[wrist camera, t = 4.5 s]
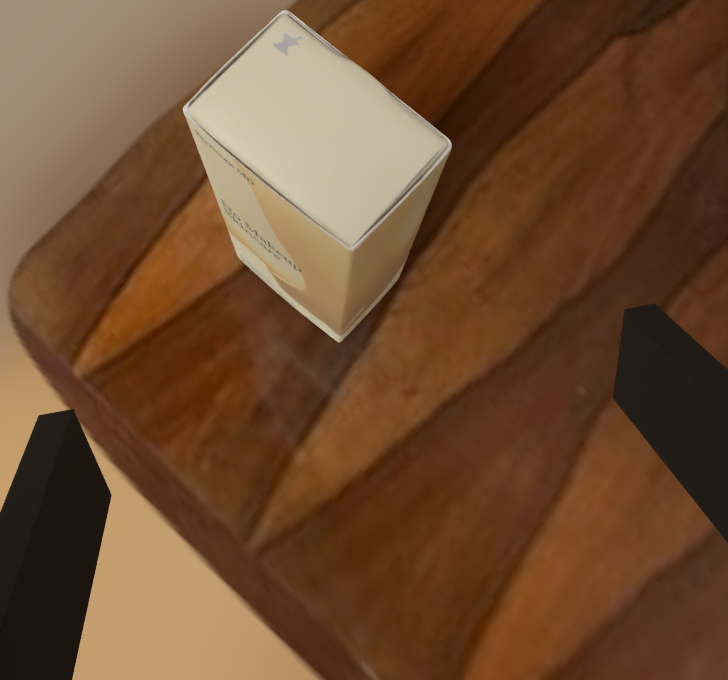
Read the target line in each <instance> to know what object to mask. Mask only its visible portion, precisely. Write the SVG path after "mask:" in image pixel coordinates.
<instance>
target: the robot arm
mask: <svg viewBox="0 0 728 680" xmlns="http://www.w3.org/2000/svg"><path fill="white" fill-rule="evenodd" d="M613 399H614V400H615V401H616V402H617V404H618V405H619V406H620V407H621V409H622V410H623V411H624V413H625V414H626V415H627V416H628V418H629V419H630V420H631V421H632V423H633V424H634V425H635V426H636V428H637V429H638V430H639V431H640V433H641V434H642V435H643V436H644V438H645V439H646V440H647V442H648V443H649V444H650V445H651V447H652V448H653V449H654V450H655V452H656V453H657V454H658V455H659V457H660V458H661V459H662V460H663V462H664V463H665V464H666V465H667V467H668V468H669V469H670V470H671V472H672V473H673V474H674V476H675V477H676V478H677V479H678V481H679V482H680V483H681V484H682V486H683V487H684V488H685V489H686V491H687V492H688V493H689V494H690V496H691V497H692V498H693V499H694V501H695V502H696V503H697V504H698V506H699V507H700V508H701V510H702V511H703V512H704V513H705V515H706V516H707V517H708V518H709V520H710V521H711V522H712V523H713V525H714V526H715V527H716V528H717V530H718V531H719V532H720V533H721V535H722V536H723V537H724V538H725V540H726V541H727V542H728V370H727V369H726V368H725V367H724V366H723V365H722V364H720V363H719V362H718V361H717V360H716V359H715V358H714V357H713V356H712V355H711V354H709V353H708V352H707V351H706V350H705V349H704V348H703V347H702V346H701V345H700V344H699V343H697V342H696V341H695V340H694V339H693V338H692V337H691V336H690V335H689V334H688V333H686V332H685V331H684V330H683V329H682V328H681V327H680V326H679V325H678V324H677V323H675V322H674V321H673V320H672V319H671V318H670V317H669V316H668V315H667V314H666V313H664V312H663V311H662V310H661V309H660V308H659V307H658V306H657V305H656V304H650V305H645V306H639V307H634V308H628V309H625V311H624V319H623V327H622V334H621V342H620V350H619V357H618V365H617V373H616V381H615V388H614V396H613ZM110 500H111V493H110V490H109V488H108V486H107V484H106V482H105V479H104V477H103V475H102V472H101V470H100V468H99V466H98V463H97V461H96V459H95V457H94V454H93V452H92V450H91V448H90V445H89V443H88V441H87V439H86V437H85V434H84V432H83V430H82V428H81V425H80V423H79V421H78V419H77V416H76V414H75V412H74V410H73V409H71V410H66V411H61V412H55V413H50V414H44V415H39V416H38V419H37V421H36V424H35V426H34V429H33V431H32V434H31V437H30V439H29V441H28V444H27V446H26V449H25V451H24V454H23V456H22V459H21V462H20V464H19V467H18V469H17V472H16V474H15V477H14V479H13V482H12V484H11V487H10V489H9V492H8V494H7V497H6V500H5V502H4V505H3V507H2V510H1V512H0V680H72V677H73V672H74V667H75V663H76V658H77V654H78V649H79V644H80V639H81V635H82V630H83V625H84V621H85V616H86V612H87V607H88V602H89V598H90V593H91V588H92V583H93V579H94V574H95V570H96V565H97V560H98V556H99V551H100V546H101V541H102V537H103V532H104V528H105V523H106V518H107V514H108V509H109V504H110Z"/></svg>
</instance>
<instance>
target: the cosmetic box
mask: <svg viewBox="0 0 728 680" xmlns="http://www.w3.org/2000/svg"><path fill="white" fill-rule="evenodd" d="M183 113H184V115H185V117H186V120H187V122H188V125H189V127H190V130H191V133H192V135H193V138H194V141H195V143H196V146H197V149H198V151H199V154H200V156H201V159H202V162H203V164H204V167H205V170H206V173H207V175H208V178H209V180H210V183H211V186H212V188H213V191H214V194H215V197H216V199H217V202H218V204H219V207H220V210H221V213H222V215H223V218H224V221H225V223H226V225H227V228H228V231H229V234H230V237H231V239H232V242H233V245H234V247H235V250H236V253H237V256H238V257H239V259H240V260H241V261H243V262H244V263H245V264H246V265H247V266H248V267H249V268H250V269H251V270H252V271H253V272H254V273H255V274H256V275H258V276H259V277H260V278H261V279H262V280H263V281H264V282H265V283H266V284H267V285H269V286H270V287H271V288H272V289H273V290H274V291H275V292H277V293H278V294H279V295H280V296H281V297H282V298H284V299H285V300H286V301H287V302H288V303H289V304H291V305H292V306H293V307H294V308H295V309H297V310H298V311H299V312H300V313H302V314H303V315H304V316H305V317H307V318H308V319H309V320H310V321H312V322H313V323H314V324H315V325H317V326H318V327H319V328H321V329H322V330H323V331H324V332H325V333H327V334H328V335H329V336H330V337H332V338H333V339H334V340H336V341H337V342H341V341H343V340H344V339H345V337H346V336H347V335H348V334H349V333H350V332H351V331H352V330H353V329H354V328H355V327H356V326H357V325H358V324H359V323H360V322H361V321H362V319H363V318H364V317H365V316H366V315H367V314H368V313H369V312H370V311H371V310H372V309H373V308H374V306H375V305H376V304H377V303H378V302H379V301H380V300H381V299H382V297H383V296H384V295H385V294H386V293H387V292H388V291H389V289H390V288H391V287H392V286H393V285H394V284H395V283H396V281H397V280H398V279H399V277H400V274H401V272H402V269H403V267H404V264H405V262H406V260H407V257H408V255H409V252H410V249H411V247H412V244H413V242H414V239H415V237H416V235H417V232H418V230H419V228H420V225H421V222H422V220H423V217H424V215H425V212H426V210H427V207H428V205H429V202H430V200H431V198H432V195H433V193H434V190H435V188H436V185H437V183H438V180H439V178H440V175H441V173H442V171H443V168H444V165H445V163H446V160H447V158H448V156H449V154H450V151H451V149H452V144H451V142H450V140H449V139H448V138H447V137H446V136H445V135H444V134H442V133H441V132H440V131H438V130H437V129H436V128H435V127H434V126H432V125H431V124H430V123H429V122H427V121H426V120H425V119H424V118H423V117H421V116H420V115H419V114H417V113H416V112H415V111H414V110H412V109H411V108H410V107H409V106H408V105H406V104H405V103H404V102H402V101H401V100H400V99H399V98H397V97H396V96H395V95H394V94H393V93H392V92H390V91H389V90H388V89H387V88H386V87H384V86H383V85H382V84H381V83H380V82H379V81H378V80H376V79H375V78H374V77H373V76H372V75H370V74H369V73H368V72H367V71H365V70H364V69H363V68H361V67H360V66H358V65H357V64H355V63H354V62H353V61H351V60H350V59H348V58H347V57H346V56H345V55H343V54H342V53H341V52H340V51H338V50H337V49H336V48H335V47H333V46H332V45H331V44H330V43H328V42H327V41H326V40H324V39H323V38H322V37H321V36H319V35H318V34H317V33H316V32H314V31H313V30H312V29H311V28H309V27H308V26H307V25H306V24H304V23H303V22H302V21H300V20H299V19H298V18H297V17H296V16H294V15H293V14H292V13H291V12H289V11H287V10H283V11H281V12H280V13H279V14H278V15H277V16H276V17H275V18H274V19H273V20H272V21H271V22H270V23H269V24H268V25H267V26H265V27H264V28H263V29H262V30H261V31H260V32H259V33H258V34H257V35H256V36H255V37H254V38H252V39H251V40H250V41H249V42H248V43H247V44H246V45H245V46H244V47H243V48H242V49H241V50H240V51H239V52H238V53H237V54H236V55H234V56H233V57H232V58H231V59H230V60H229V61H228V62H227V63H226V64H225V65H224V66H223V67H222V68H221V69H220V70H219V71H218V72H217V73H216V74H215V75H214V76H213V77H211V78H210V79H209V81H208V82H207V83H206V84H205V85H204V86H203V87H202V88H201V89H200V90H199V92H198V93H197V94H196V95H195V96H194V97H193V98H192V99H191V100H190V101H189V102H188V103H187V104H186V105H185V106H184V107H183Z"/></svg>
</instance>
